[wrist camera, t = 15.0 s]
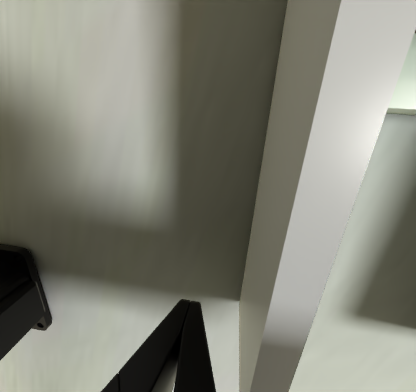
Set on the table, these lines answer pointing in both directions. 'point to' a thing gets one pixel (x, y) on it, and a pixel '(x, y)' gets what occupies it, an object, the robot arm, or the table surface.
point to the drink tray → (316, 166)
